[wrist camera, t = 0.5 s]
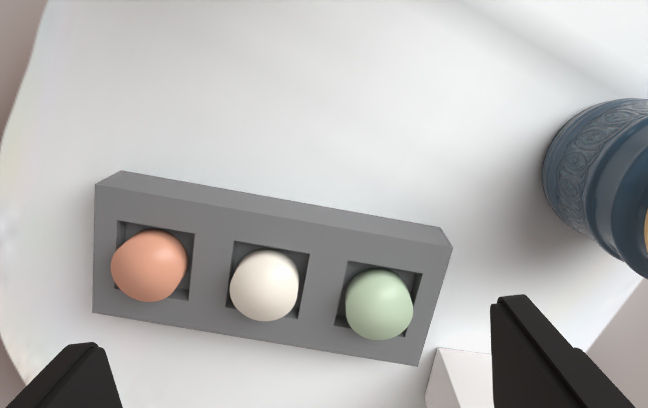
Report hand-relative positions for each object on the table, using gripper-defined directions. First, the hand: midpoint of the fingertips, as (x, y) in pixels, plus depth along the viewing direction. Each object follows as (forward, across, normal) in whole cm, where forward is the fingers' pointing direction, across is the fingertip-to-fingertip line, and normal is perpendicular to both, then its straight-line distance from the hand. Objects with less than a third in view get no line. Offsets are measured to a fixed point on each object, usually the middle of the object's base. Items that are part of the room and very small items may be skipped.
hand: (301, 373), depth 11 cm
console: (+33, +7, +10) cm, 36 cm away
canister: (+33, -27, +5) cm, 43 cm away
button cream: (+29, +7, +11) cm, 32 cm away
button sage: (+29, -3, +14) cm, 32 cm away
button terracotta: (+29, +17, +7) cm, 34 cm away
